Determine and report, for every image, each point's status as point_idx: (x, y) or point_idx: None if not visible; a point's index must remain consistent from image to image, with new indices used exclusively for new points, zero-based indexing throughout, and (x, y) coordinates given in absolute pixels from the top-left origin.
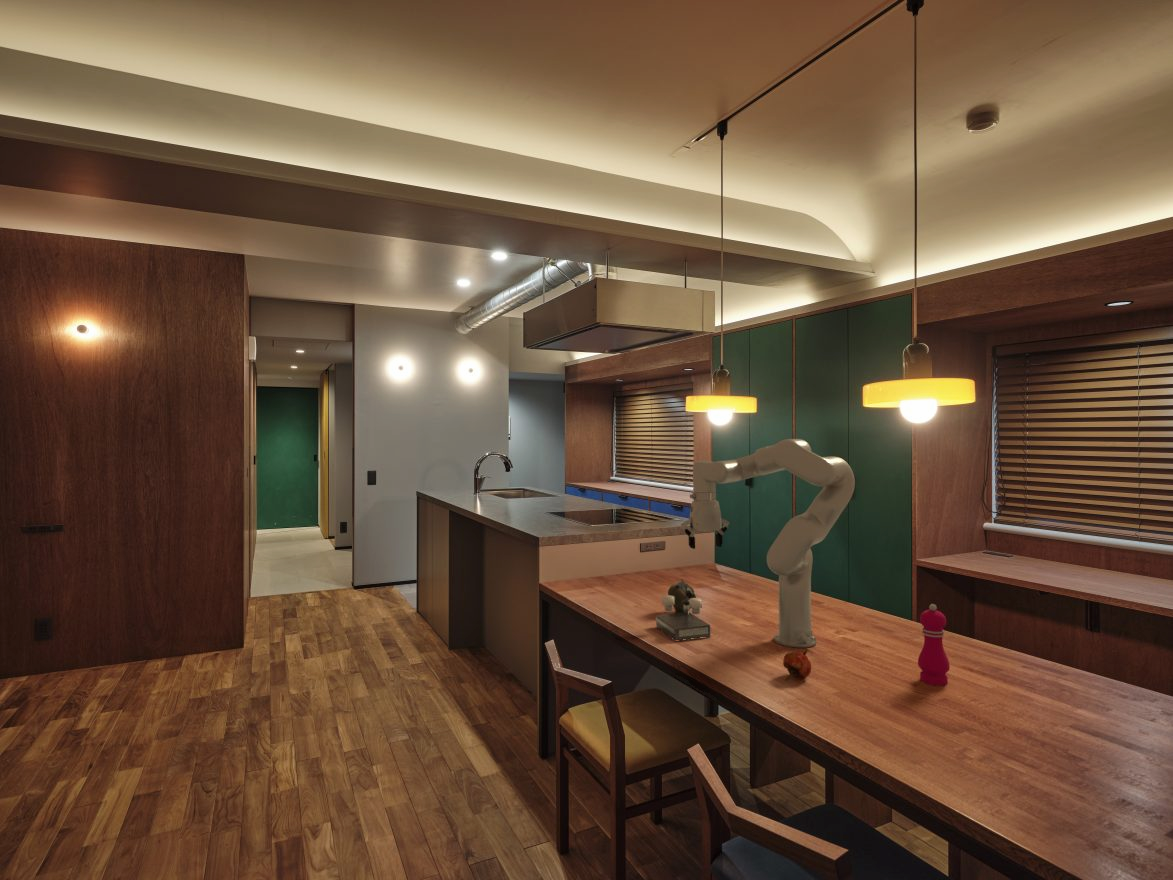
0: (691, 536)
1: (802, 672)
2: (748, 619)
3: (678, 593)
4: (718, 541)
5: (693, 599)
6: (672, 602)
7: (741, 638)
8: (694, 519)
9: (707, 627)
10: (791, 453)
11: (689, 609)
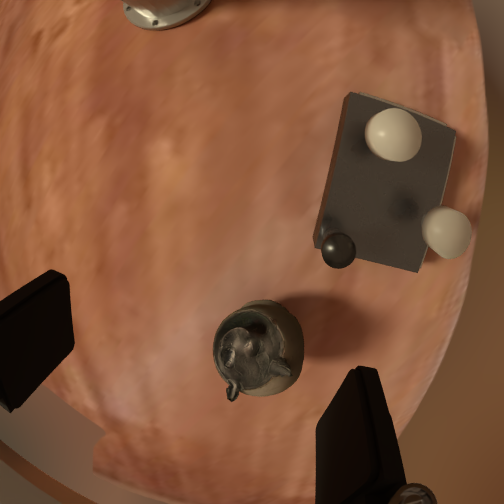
0: (409, 492)
1: None
2: (137, 182)
3: (293, 341)
4: (38, 325)
5: (405, 139)
6: (446, 207)
7: (269, 50)
8: None
9: (361, 92)
10: None
11: (327, 234)
